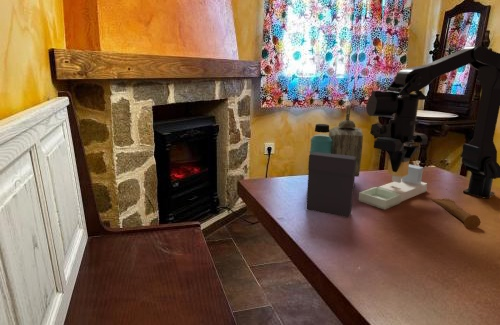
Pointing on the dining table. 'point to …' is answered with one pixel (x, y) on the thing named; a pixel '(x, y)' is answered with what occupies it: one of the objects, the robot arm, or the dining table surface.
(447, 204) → the primitive tool
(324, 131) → the beverage bottle
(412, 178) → the block
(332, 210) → the upright charcoal panel
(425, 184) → the white flat block
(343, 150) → the grey brown pump bottle
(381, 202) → the parts tray
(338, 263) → the dining table surface
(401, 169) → the block
